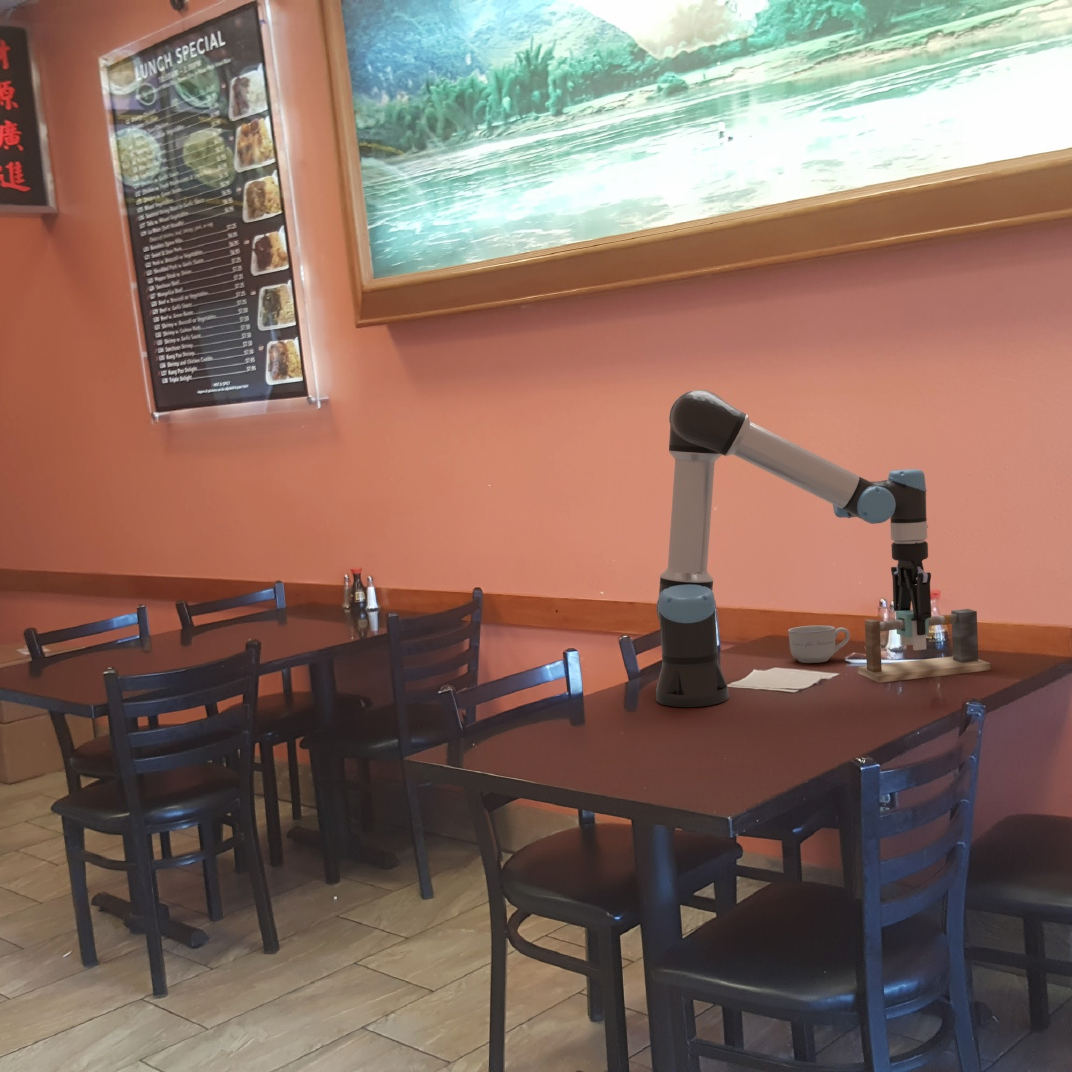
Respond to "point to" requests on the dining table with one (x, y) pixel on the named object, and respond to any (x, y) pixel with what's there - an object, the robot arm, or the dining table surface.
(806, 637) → the teacup
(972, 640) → the rod stand
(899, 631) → the sleeve
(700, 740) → the dining table surface
